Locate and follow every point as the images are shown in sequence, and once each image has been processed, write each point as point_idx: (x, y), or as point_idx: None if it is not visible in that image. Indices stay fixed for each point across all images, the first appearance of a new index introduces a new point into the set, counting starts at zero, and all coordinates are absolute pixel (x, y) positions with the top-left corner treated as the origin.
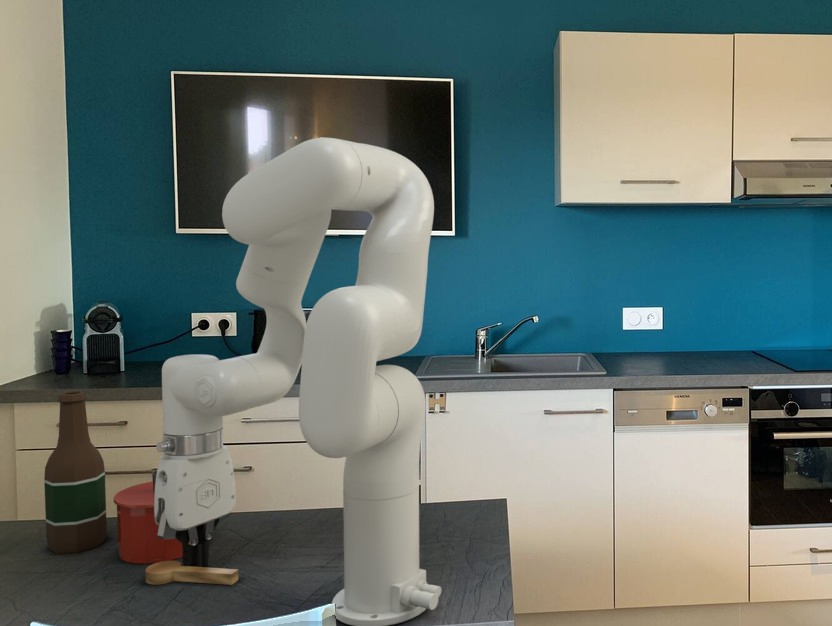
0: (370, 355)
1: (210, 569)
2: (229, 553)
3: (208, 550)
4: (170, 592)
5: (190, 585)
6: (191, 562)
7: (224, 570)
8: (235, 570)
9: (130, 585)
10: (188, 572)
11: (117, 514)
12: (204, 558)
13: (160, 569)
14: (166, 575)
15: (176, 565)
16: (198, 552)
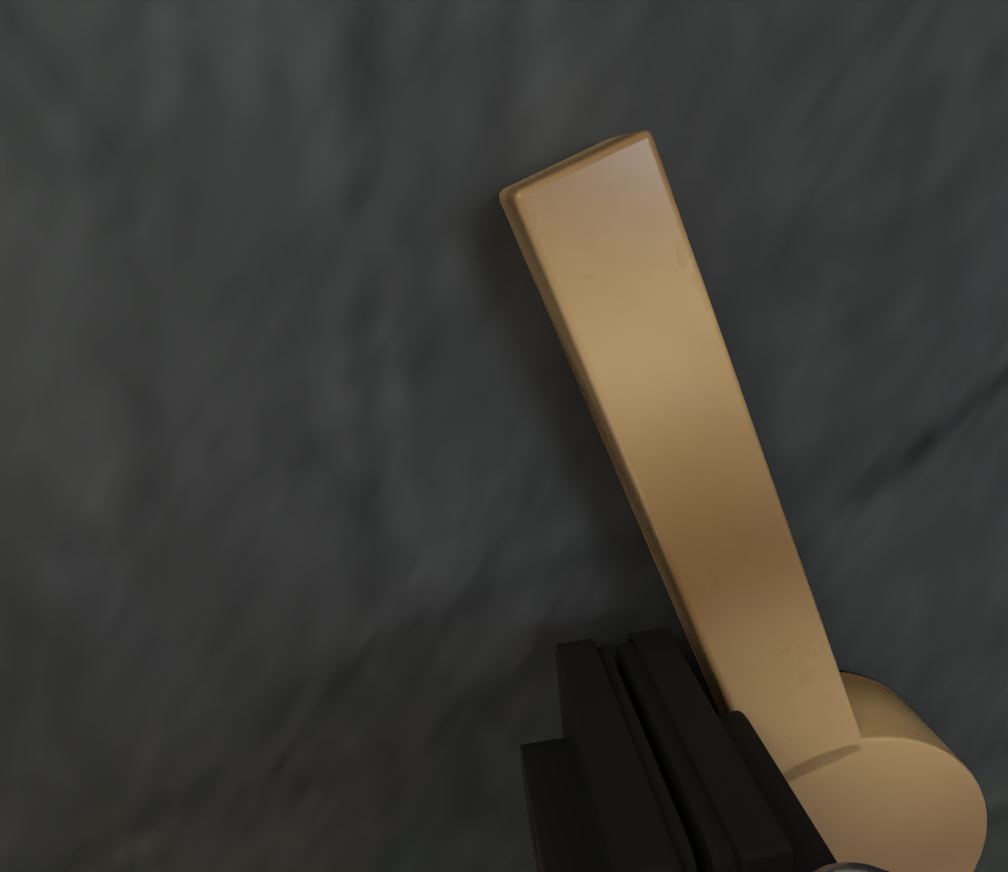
0: None
1: (688, 473)
2: (182, 841)
3: (534, 809)
4: (963, 495)
5: (797, 489)
6: (734, 729)
7: (628, 309)
8: (553, 192)
9: None
10: (813, 605)
11: None
12: (616, 711)
13: (902, 827)
14: (902, 719)
15: None
16: (742, 763)
